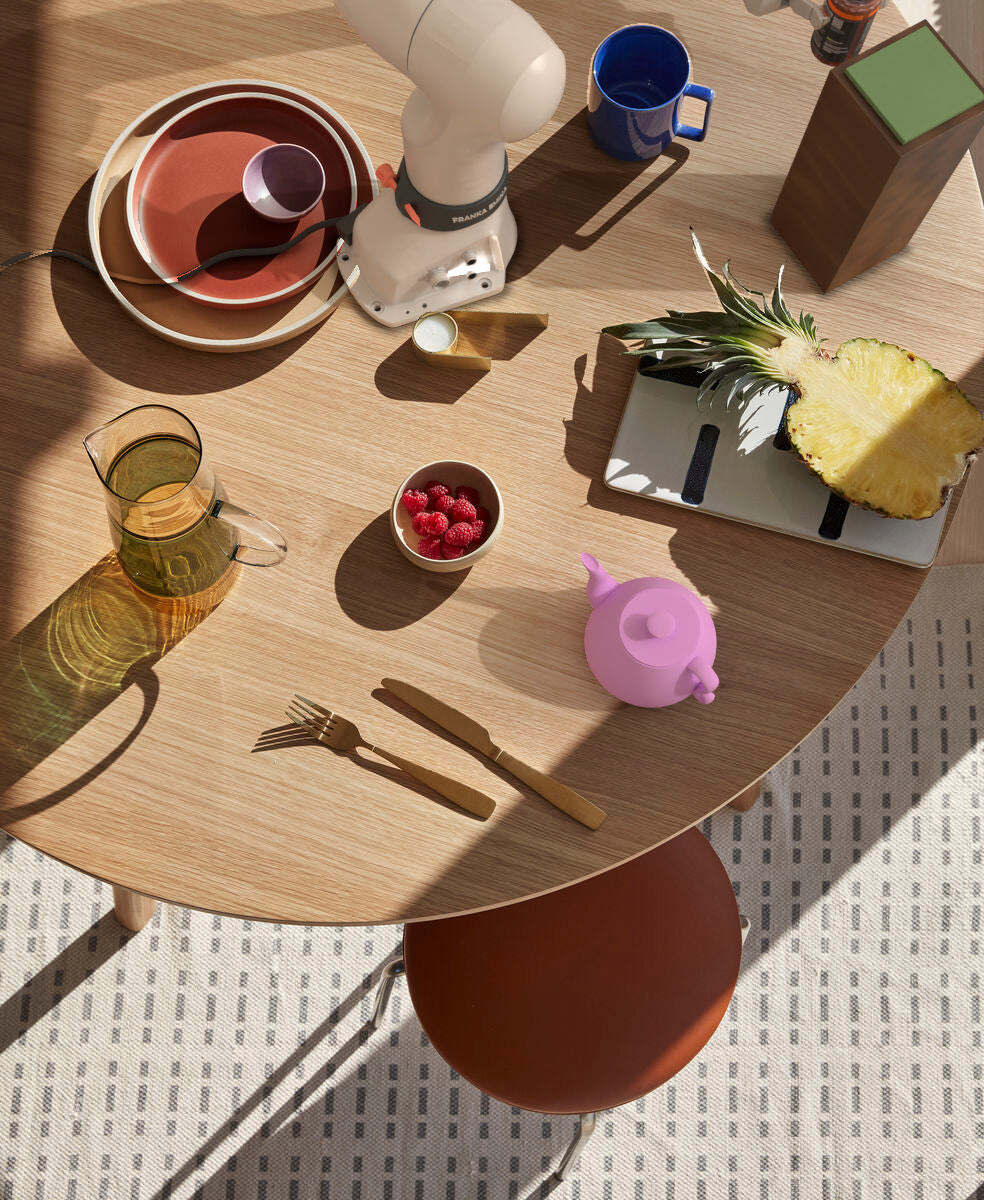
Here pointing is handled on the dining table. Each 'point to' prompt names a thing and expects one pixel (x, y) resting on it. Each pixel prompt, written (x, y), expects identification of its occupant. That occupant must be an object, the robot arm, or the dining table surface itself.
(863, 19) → the supplement bottle
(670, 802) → the dining table surface
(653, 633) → the teapot
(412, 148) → the robot arm
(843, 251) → the walnut stand
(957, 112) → the green mat
